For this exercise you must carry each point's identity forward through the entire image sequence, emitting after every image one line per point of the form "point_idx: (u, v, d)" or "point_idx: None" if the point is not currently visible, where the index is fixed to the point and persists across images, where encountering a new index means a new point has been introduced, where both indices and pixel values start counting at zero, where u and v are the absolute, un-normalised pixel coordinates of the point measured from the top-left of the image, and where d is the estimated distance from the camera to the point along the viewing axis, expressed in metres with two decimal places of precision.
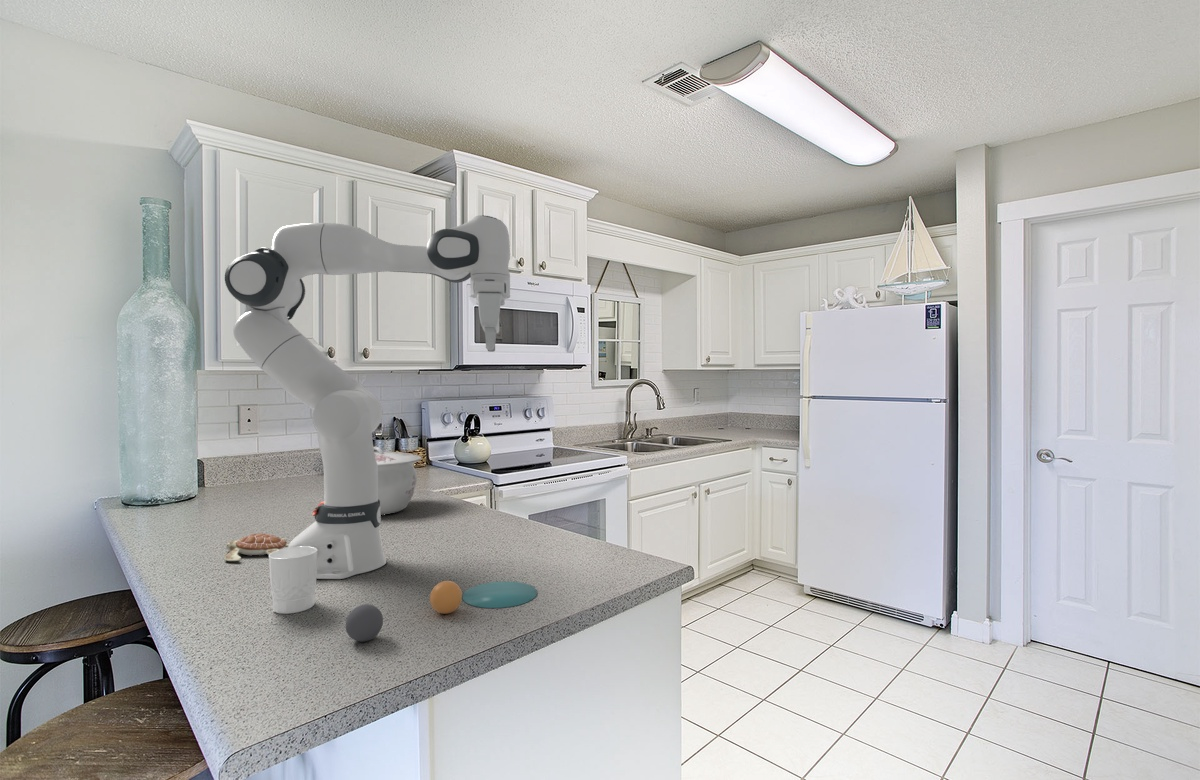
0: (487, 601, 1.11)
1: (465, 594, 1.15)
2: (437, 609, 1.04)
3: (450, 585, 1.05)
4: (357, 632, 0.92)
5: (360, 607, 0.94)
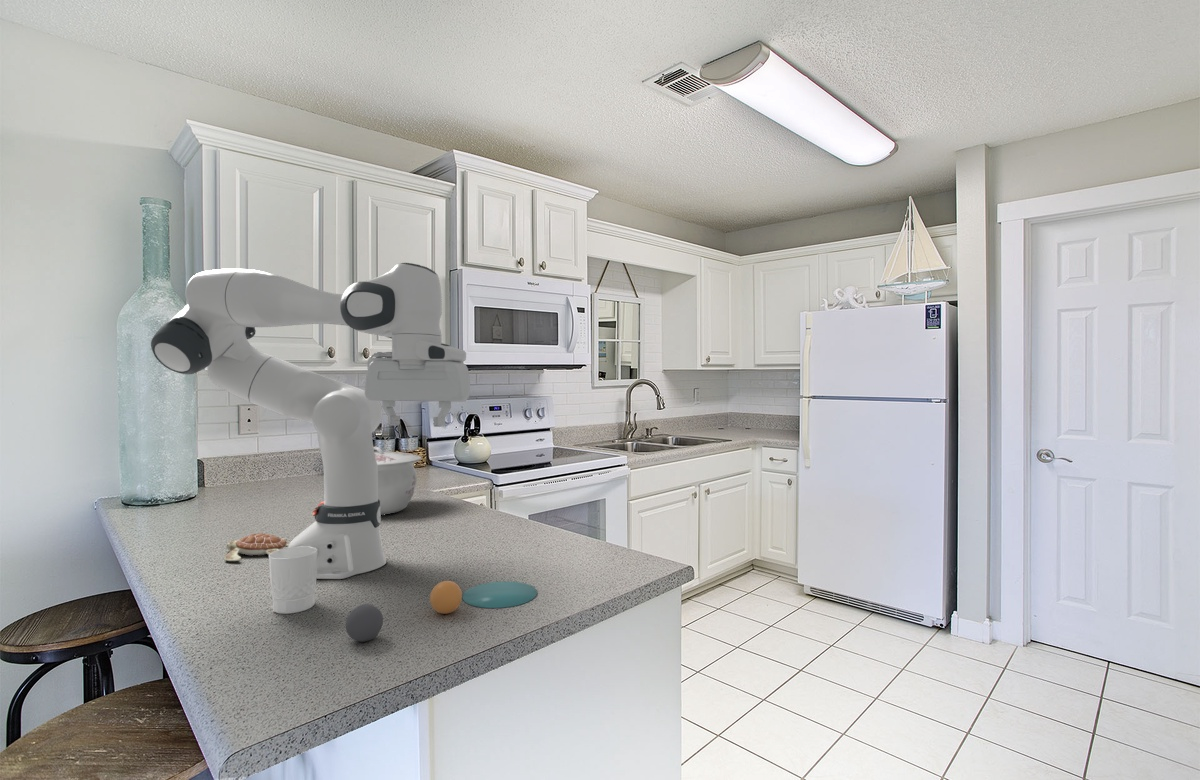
0: (487, 601, 1.11)
1: (465, 594, 1.15)
2: (437, 609, 1.04)
3: (450, 585, 1.05)
4: (357, 632, 0.92)
5: (360, 607, 0.94)
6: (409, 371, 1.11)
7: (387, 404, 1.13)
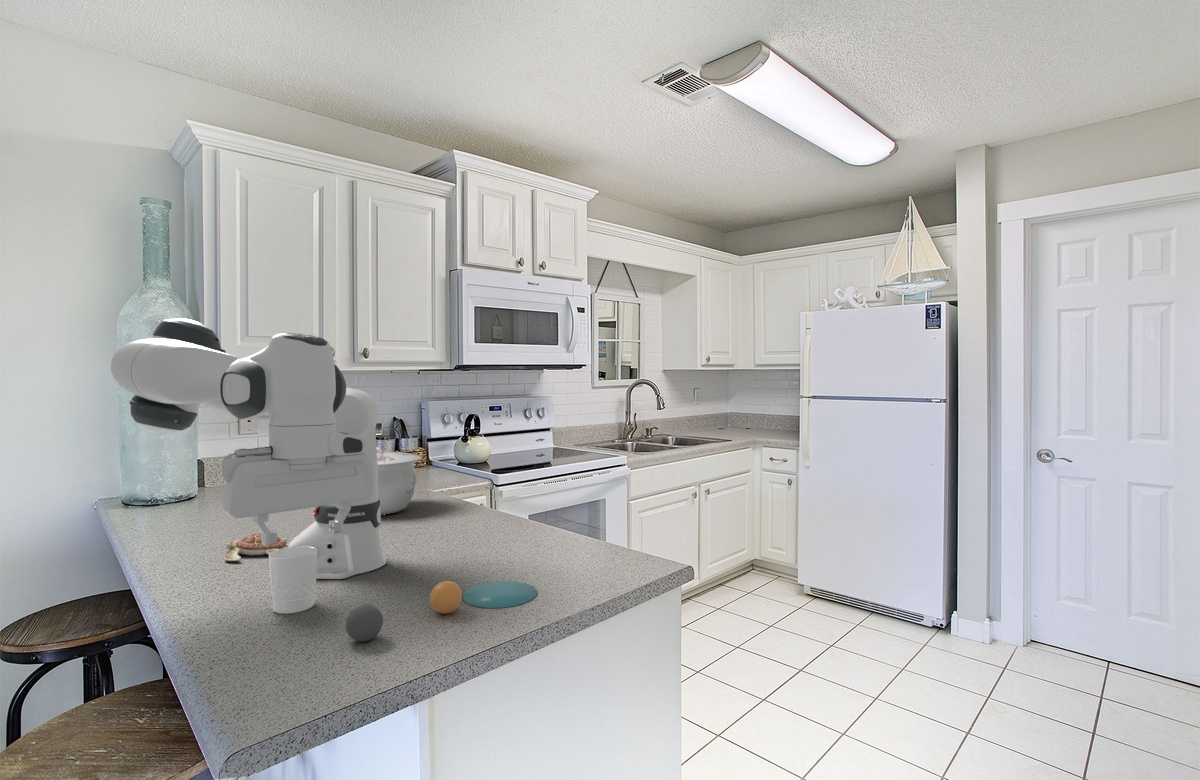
0: (487, 601, 1.11)
1: (465, 594, 1.15)
2: (437, 609, 1.04)
3: (450, 585, 1.05)
4: (357, 632, 0.92)
5: (360, 607, 0.94)
6: (306, 470, 0.87)
7: (266, 518, 0.84)
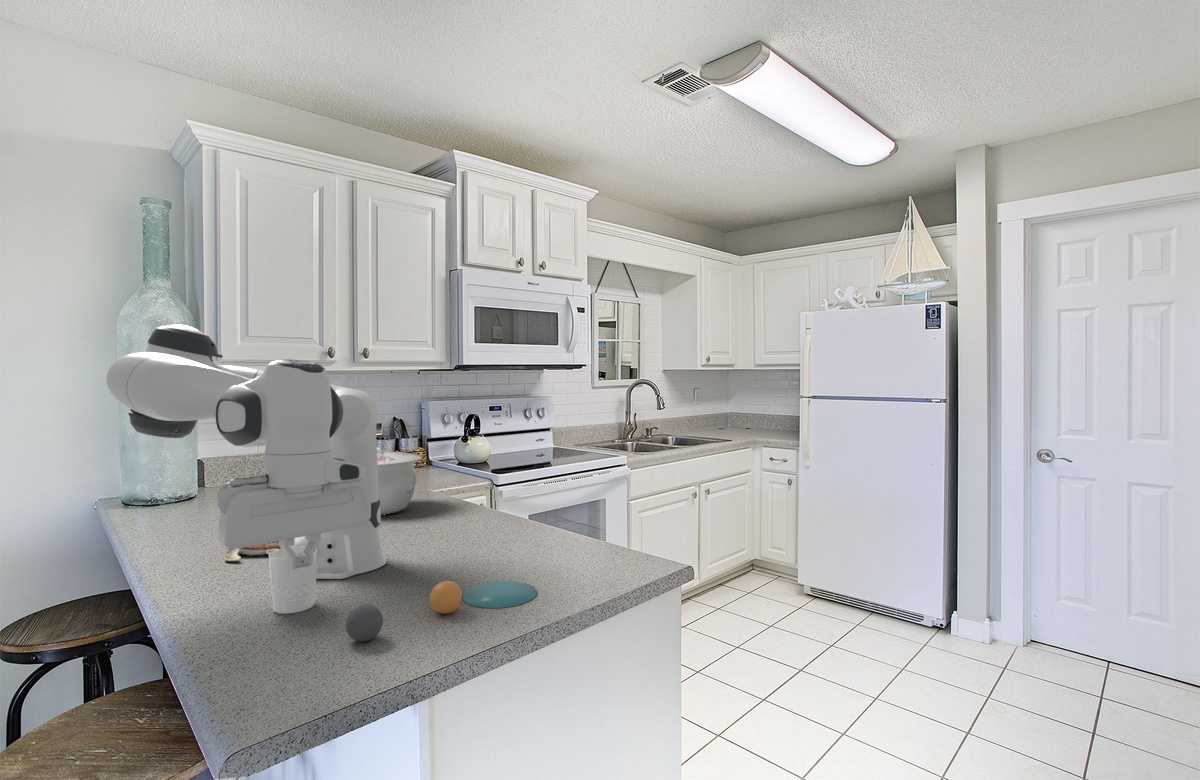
0: (487, 601, 1.11)
1: (465, 594, 1.15)
2: (437, 609, 1.04)
3: (450, 585, 1.05)
4: (357, 632, 0.92)
5: (360, 607, 0.94)
6: (302, 498, 0.86)
7: (292, 542, 0.86)
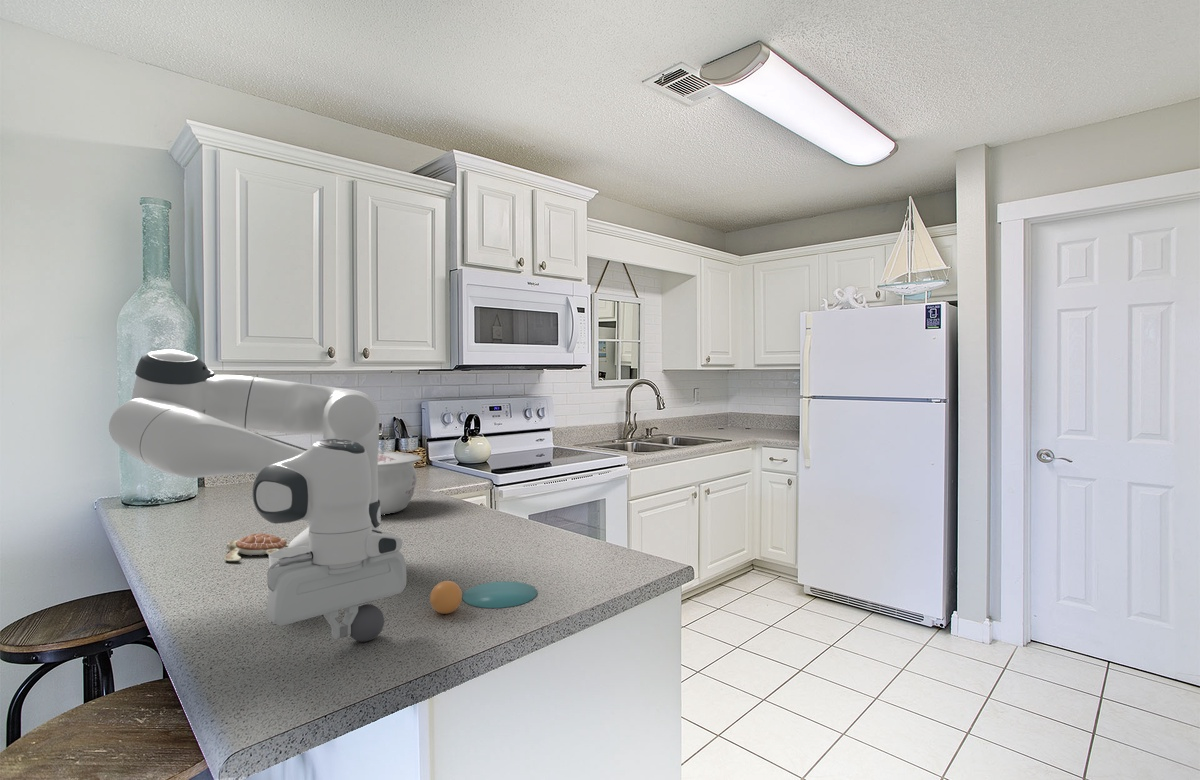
0: (487, 601, 1.11)
1: (465, 594, 1.15)
2: (437, 609, 1.04)
3: (450, 585, 1.05)
4: (358, 631, 0.92)
5: (362, 607, 0.95)
6: (343, 573, 0.91)
7: (336, 614, 0.91)
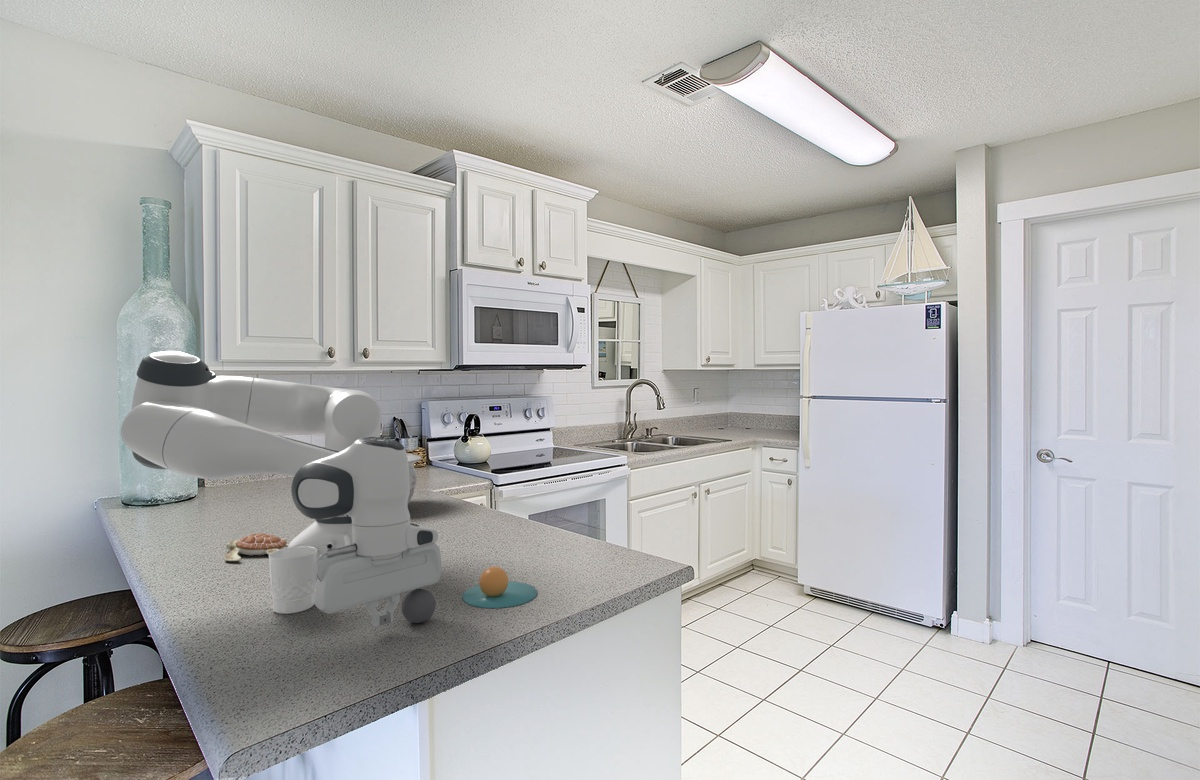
0: (487, 601, 1.11)
1: (465, 594, 1.15)
2: None
3: (491, 594, 1.12)
4: (431, 597, 1.02)
5: None
6: (385, 563, 0.96)
7: (376, 603, 0.95)
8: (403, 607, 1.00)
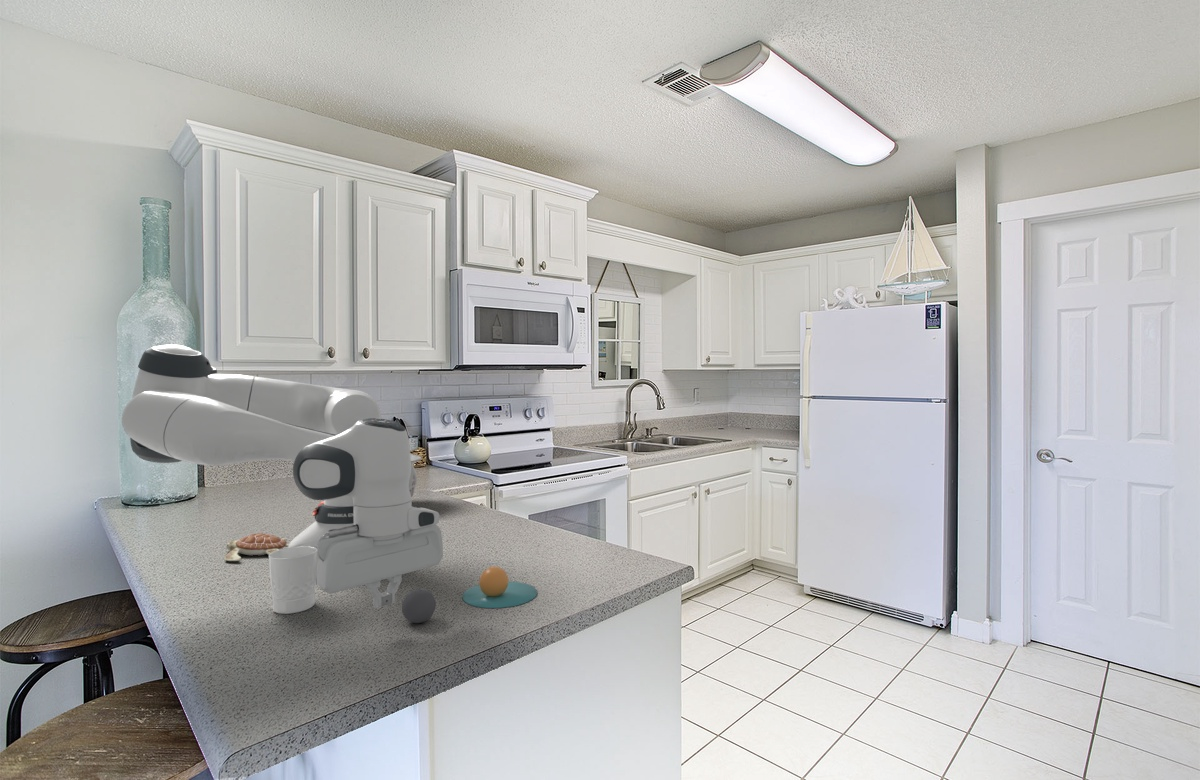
0: (487, 601, 1.11)
1: (465, 594, 1.15)
2: None
3: (491, 594, 1.12)
4: (431, 597, 1.02)
5: None
6: (387, 544, 0.96)
7: (378, 584, 0.96)
8: (403, 607, 1.00)
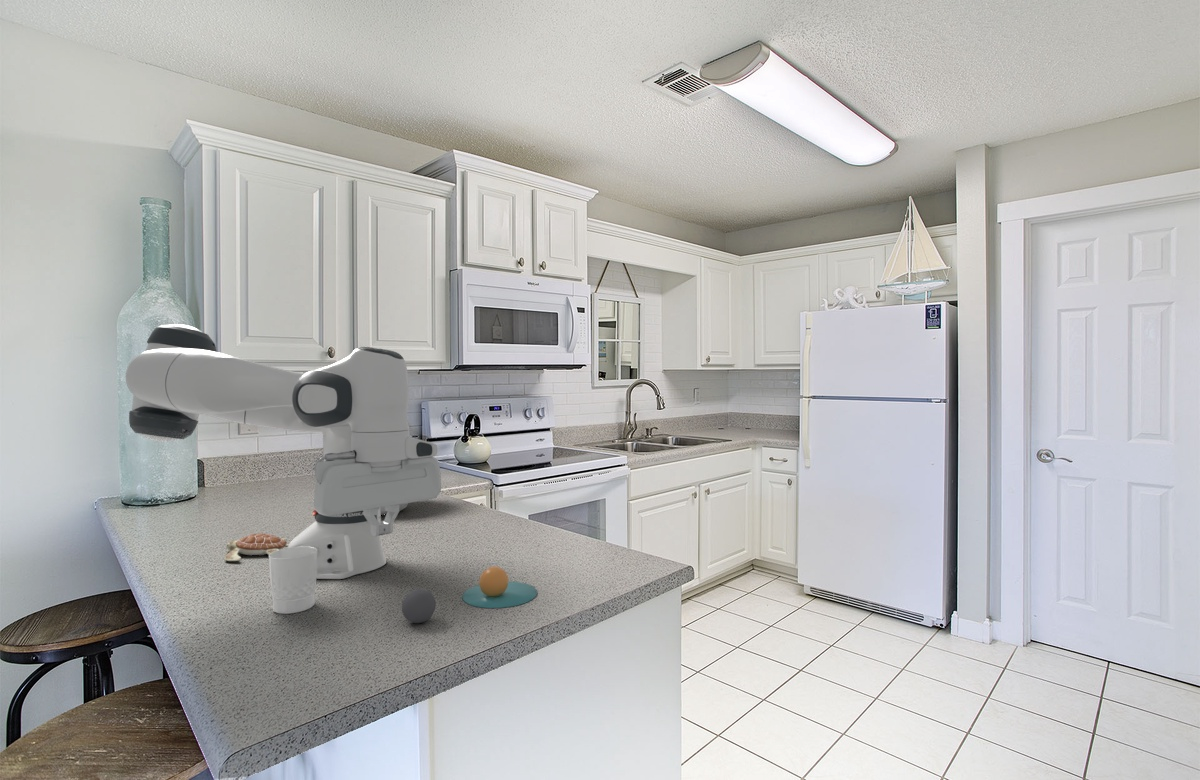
0: (487, 601, 1.11)
1: (465, 594, 1.15)
2: None
3: (491, 594, 1.12)
4: (431, 597, 1.02)
5: None
6: (384, 472, 0.95)
7: (376, 512, 0.95)
8: (403, 607, 1.00)
